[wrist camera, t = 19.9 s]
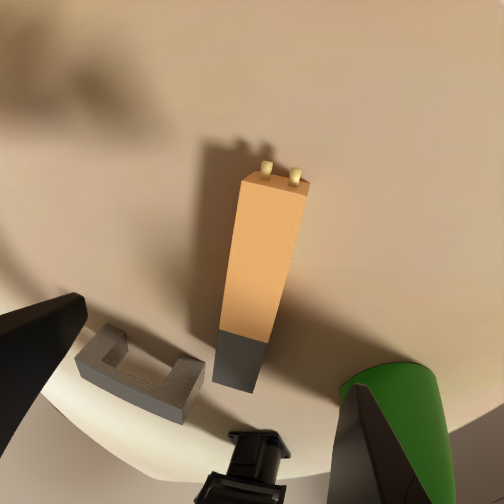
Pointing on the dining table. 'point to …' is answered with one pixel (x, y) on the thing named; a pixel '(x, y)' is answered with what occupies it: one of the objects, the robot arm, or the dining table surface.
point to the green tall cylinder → (414, 422)
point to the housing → (132, 389)
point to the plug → (257, 272)
